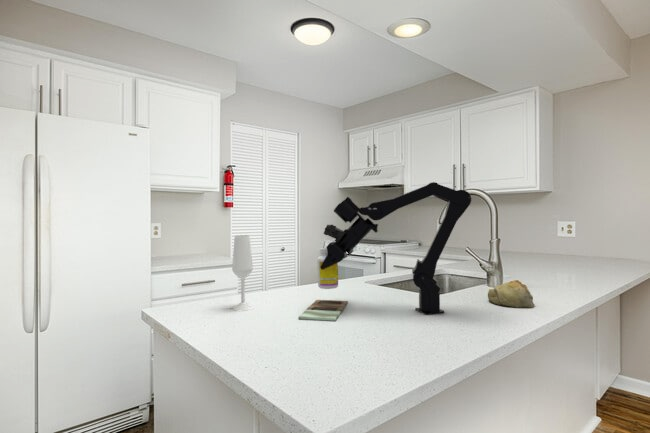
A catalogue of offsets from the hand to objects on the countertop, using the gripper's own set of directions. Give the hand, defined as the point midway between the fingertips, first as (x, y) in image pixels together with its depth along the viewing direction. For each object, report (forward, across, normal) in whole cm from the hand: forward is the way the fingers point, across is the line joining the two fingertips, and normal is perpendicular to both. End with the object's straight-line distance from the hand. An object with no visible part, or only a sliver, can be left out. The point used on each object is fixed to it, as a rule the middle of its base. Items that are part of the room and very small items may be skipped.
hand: (323, 267), depth 122 cm
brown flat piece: (+9, +4, +10) cm, 14 cm away
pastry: (-32, -15, +53) cm, 64 cm away
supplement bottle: (+4, 0, +6) cm, 7 cm away
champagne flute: (+28, +6, -9) cm, 30 cm away
